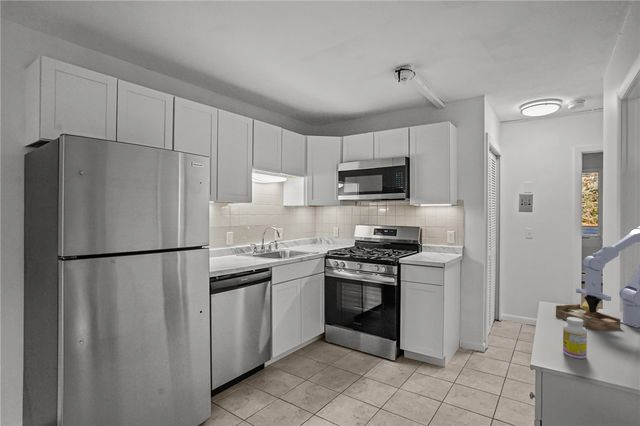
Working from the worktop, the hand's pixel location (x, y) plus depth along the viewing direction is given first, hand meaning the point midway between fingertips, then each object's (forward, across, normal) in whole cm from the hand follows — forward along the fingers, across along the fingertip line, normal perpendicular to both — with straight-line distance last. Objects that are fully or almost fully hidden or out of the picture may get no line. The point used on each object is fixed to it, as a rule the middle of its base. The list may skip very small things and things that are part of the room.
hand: (592, 312), depth 151 cm
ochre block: (-1, -2, 0) cm, 2 cm away
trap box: (+4, 0, -3) cm, 5 cm away
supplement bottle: (+5, +27, -39) cm, 48 cm away
